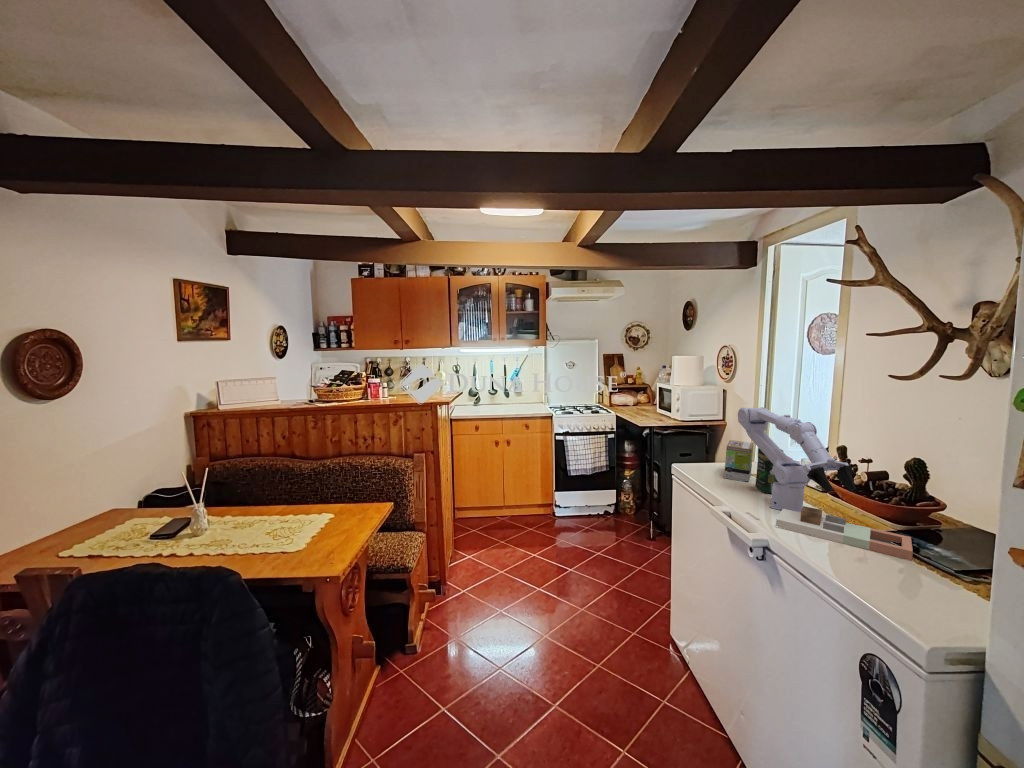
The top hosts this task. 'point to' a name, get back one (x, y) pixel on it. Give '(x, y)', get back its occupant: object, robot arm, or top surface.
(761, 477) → the coffee jar
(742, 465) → the tea box
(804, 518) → the walnut block
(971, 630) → the top surface
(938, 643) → the top surface
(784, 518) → the board
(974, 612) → the top surface
